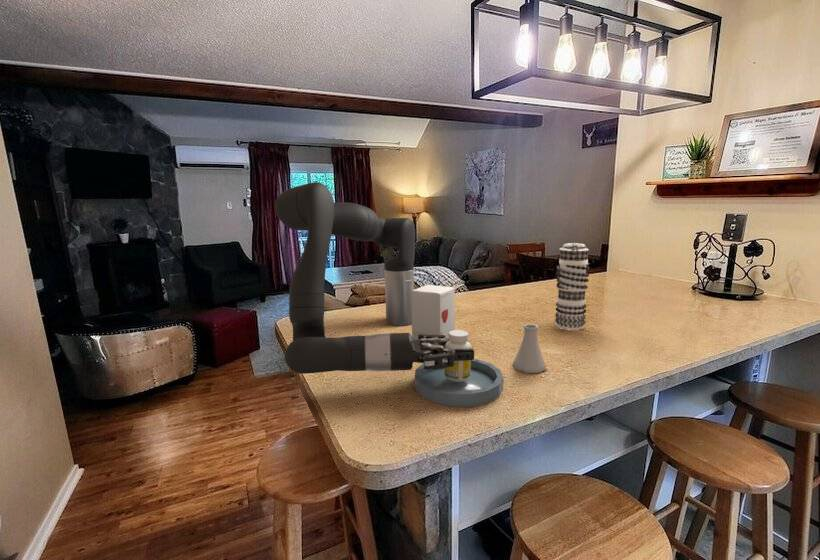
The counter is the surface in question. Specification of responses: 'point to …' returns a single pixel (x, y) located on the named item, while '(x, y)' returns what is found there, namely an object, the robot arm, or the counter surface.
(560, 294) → the decorative candle
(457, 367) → the supplement bottle
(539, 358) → the flask
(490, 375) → the dish
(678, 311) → the counter surface
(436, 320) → the supplement box
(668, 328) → the counter surface
